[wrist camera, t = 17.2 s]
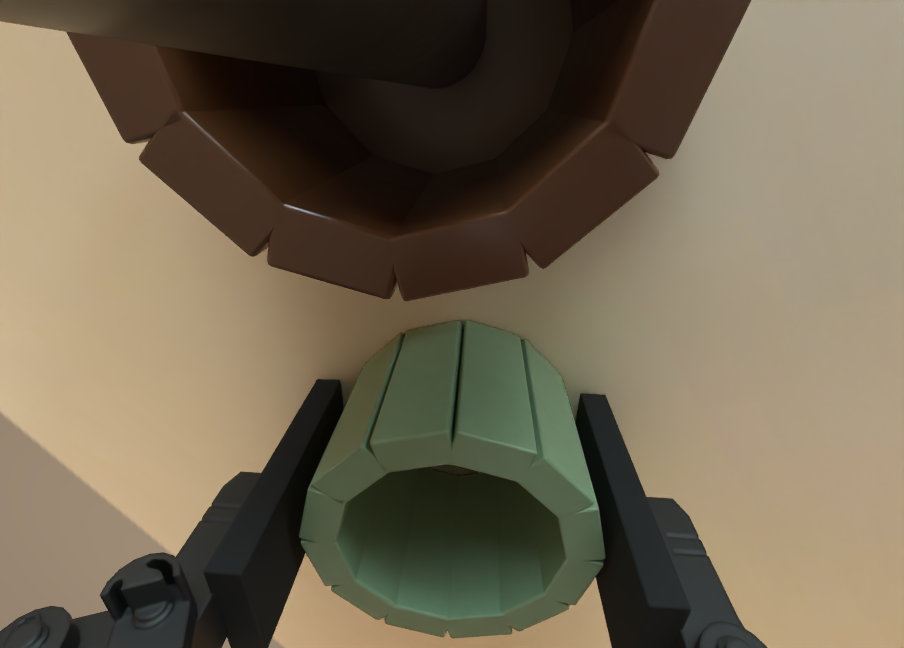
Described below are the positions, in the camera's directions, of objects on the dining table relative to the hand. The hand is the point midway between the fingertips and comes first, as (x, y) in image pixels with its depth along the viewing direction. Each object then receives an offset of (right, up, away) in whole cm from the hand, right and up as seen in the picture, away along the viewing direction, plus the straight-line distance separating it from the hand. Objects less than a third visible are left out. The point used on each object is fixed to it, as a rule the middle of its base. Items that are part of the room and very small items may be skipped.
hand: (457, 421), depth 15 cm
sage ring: (0, 0, 0) cm, 0 cm away
